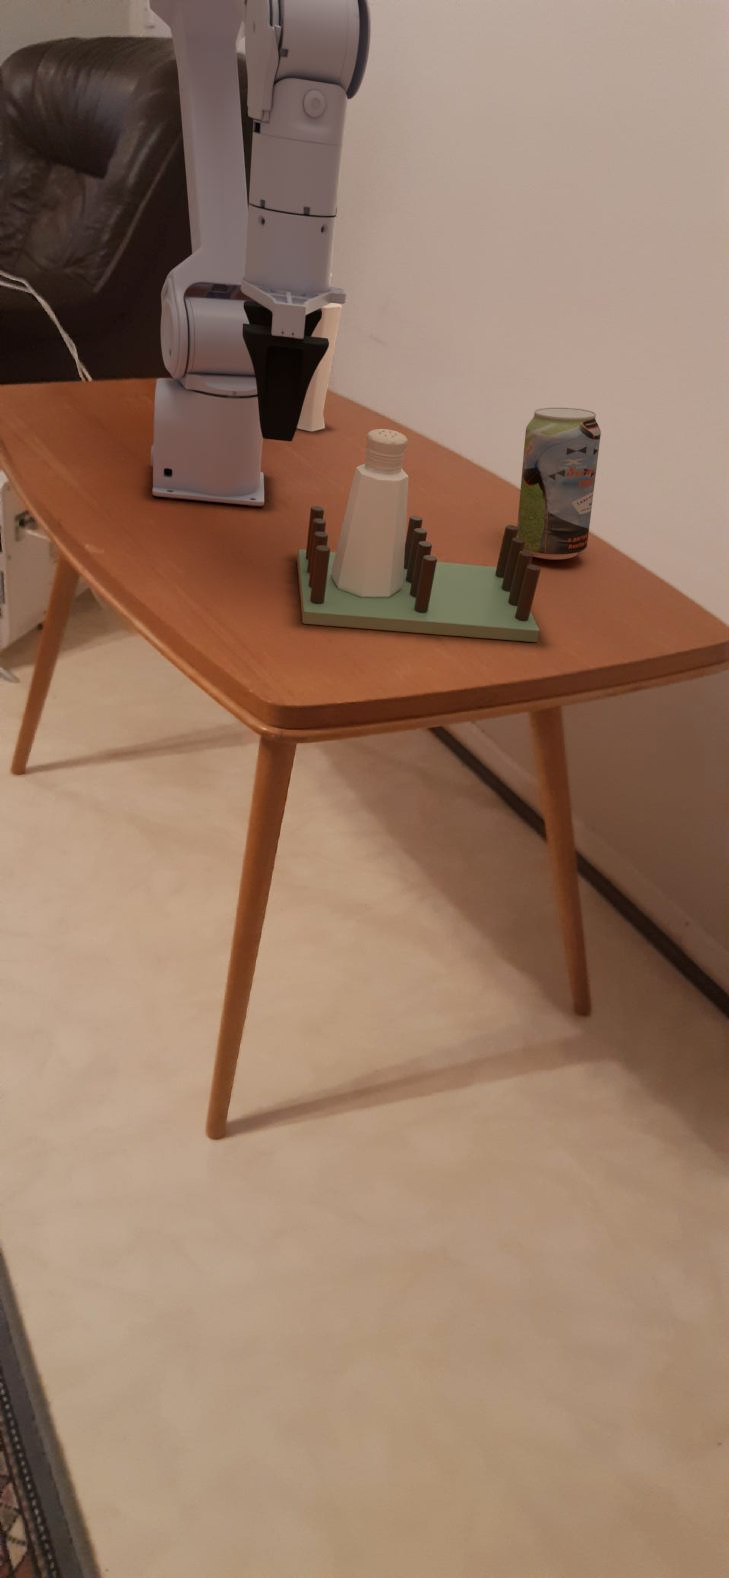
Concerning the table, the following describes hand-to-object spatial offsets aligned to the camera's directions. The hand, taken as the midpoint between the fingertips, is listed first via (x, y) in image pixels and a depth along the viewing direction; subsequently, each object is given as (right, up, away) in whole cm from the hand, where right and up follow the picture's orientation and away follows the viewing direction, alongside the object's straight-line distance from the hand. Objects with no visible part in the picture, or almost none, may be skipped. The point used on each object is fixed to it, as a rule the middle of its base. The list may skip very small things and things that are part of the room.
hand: (276, 423), depth 74 cm
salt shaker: (+7, -11, +2) cm, 13 cm away
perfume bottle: (0, +12, +36) cm, 38 cm away
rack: (+10, -12, +3) cm, 16 cm away
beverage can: (+22, -6, +15) cm, 27 cm away
